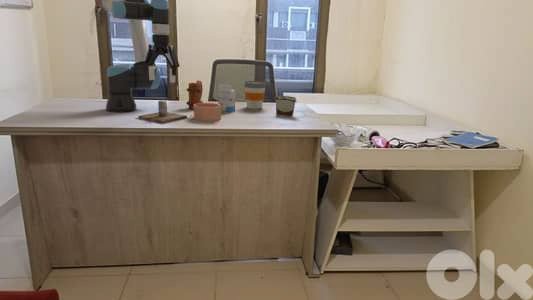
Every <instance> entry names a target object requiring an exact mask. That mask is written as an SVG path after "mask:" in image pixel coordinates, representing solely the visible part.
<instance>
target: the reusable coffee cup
mask: <svg viewBox="0 0 533 300" xmlns="http://www.w3.org/2000/svg"><path fill="white" fill-rule="evenodd" d="M266 84H267V83H266V82H265V81H261V80H245V81H244V85H243V86H244V89H245V90H244V98H245V99H244V100H245V103H246V108H247V109H249V108H250V109H251V110H260V109H259V108H261V109H262V108H263V103H264V101H265V95H266V92H265V91H266V88H267V85H266Z"/></svg>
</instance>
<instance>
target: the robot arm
mask: <svg viewBox="0 0 533 300" xmlns="http://www.w3.org/2000/svg"><path fill="white" fill-rule="evenodd" d="M100 4H101V6H102V8H103V9H104V10H105V11H106V12H108V13H110V14H111V16H112V17H113V18H114V19H119V20H123V19H124V20H127V21H128V23H129V30H130V34H131V42H132V48H133V49H132V50H133V55H134V63H133V64H132V65H131V64H130V63H129V64H128V63H126V64H125V63H124V64H116V65H115V64H114V65H110V66H108V68H107V69H106V70H107V71H106V77H107V87H108V88H107V90H108V97H107V100H106V104H105V110H106V111H107V112H111V113H113V112H114V113H126V112H127V113H128V112H133V111H136V110H137V104H136V101H135V98H134V96H133V90H151V89H152V90H154V89H155V90H156V89H157V88H159V86H160V82H161V78H162V77H161V76H162V75H161V73H162V71H161V69H160V67H159V66H157V65H156V60H157V59H158V57H159V56H163V57H164V58H165V60H166V61H167V63H168V65H169V84H170V83H171V84H173V83H176V76H177V68H179V67H180V63H179V60H178V57H177V55H176V52H175V47H174V45H169V44H170V35H169V34H170V20H169V19H170V17H169V16H170V15H169V14H170V13H169V12H170V11H169V8H170V6H169V0H150V1H149V0H101V1H100ZM146 21H149V22H151V33H152V36H151V39H152V40H151V41H152V44H151V43H150V42H149V41H150V40H149V36H148V34H149V33H148V29H147V28H148V27H147V22H146Z"/></svg>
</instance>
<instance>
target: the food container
mask: <svg viewBox="0 0 533 300" xmlns="http://www.w3.org/2000/svg"><path fill="white" fill-rule="evenodd" d="M274 101H275V111H276V112H275V115H276V116H281V115H283V117H288V116H293V117H294V112H295V105H296V103H297V97H296V96H295V97H294V96H290V95H276V96H275V97H274Z"/></svg>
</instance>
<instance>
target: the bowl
mask: <svg viewBox="0 0 533 300" xmlns="http://www.w3.org/2000/svg"><path fill="white" fill-rule="evenodd" d="M193 119H194V120H197V121H200V122H216V121H220V120H221V119H222V111H221V105H220V104H218V103H214V102H203V103H197V104H194V109H193Z"/></svg>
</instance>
